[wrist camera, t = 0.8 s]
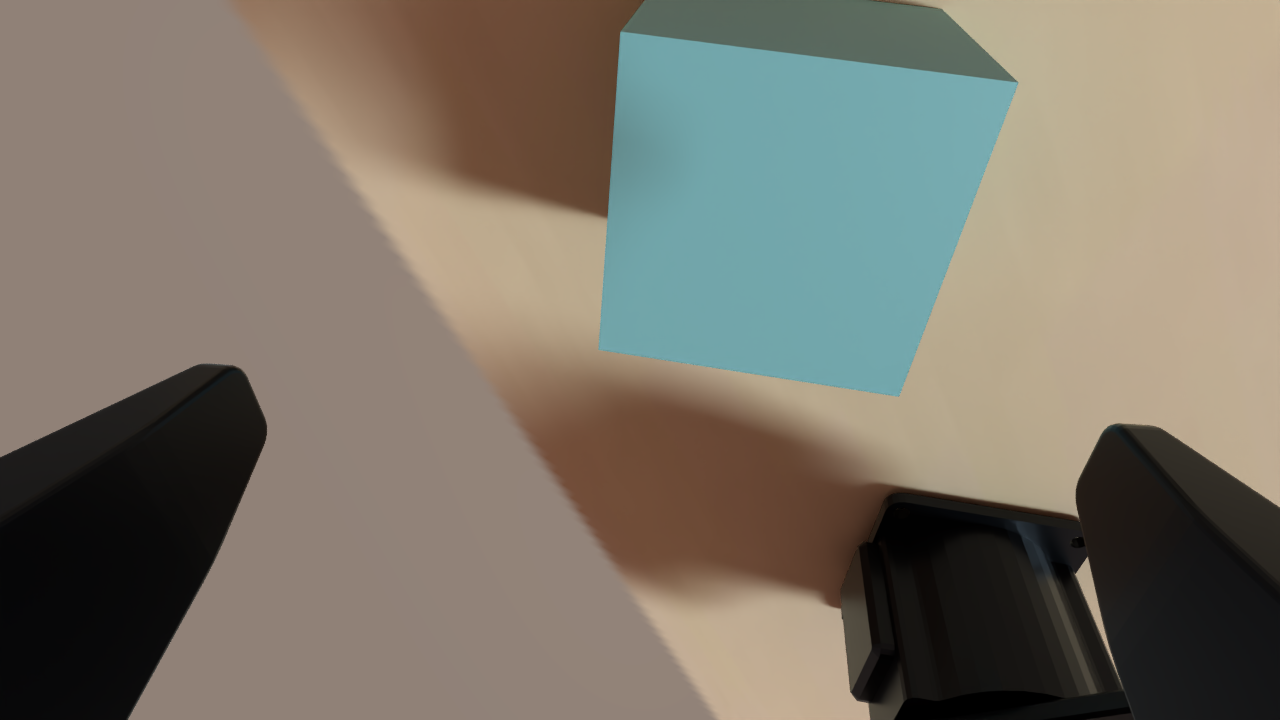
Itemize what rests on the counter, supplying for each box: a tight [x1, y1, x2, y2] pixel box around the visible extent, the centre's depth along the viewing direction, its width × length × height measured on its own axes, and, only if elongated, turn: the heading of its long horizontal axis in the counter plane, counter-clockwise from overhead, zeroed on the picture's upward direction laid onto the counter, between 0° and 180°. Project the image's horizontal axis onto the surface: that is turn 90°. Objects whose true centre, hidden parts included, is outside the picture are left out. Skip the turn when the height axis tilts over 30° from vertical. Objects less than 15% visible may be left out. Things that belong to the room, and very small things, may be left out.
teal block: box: [599, 0, 1018, 397], centre depth 15 cm, size 6×6×6 cm
